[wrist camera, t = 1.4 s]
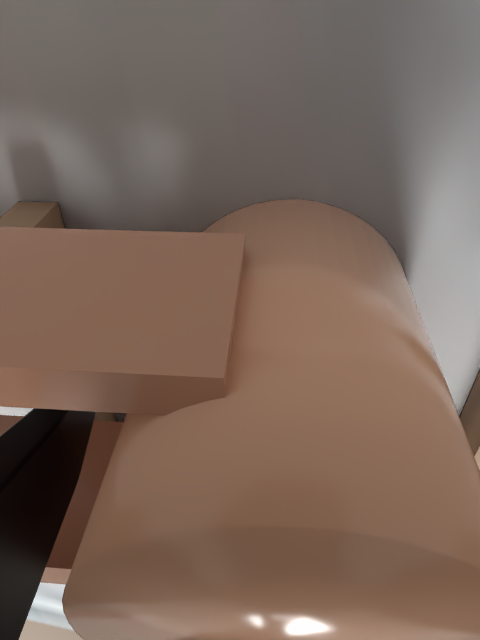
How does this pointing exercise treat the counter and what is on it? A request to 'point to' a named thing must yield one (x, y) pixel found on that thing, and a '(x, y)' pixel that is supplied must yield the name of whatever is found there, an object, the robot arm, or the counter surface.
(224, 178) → the counter surface
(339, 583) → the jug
